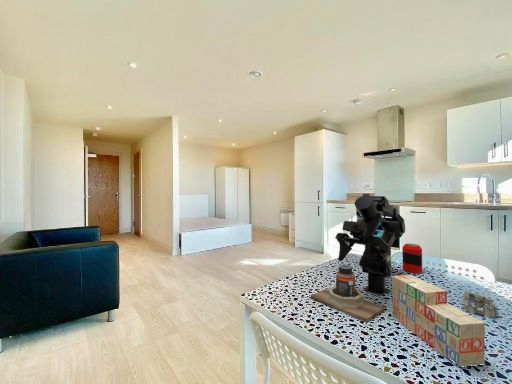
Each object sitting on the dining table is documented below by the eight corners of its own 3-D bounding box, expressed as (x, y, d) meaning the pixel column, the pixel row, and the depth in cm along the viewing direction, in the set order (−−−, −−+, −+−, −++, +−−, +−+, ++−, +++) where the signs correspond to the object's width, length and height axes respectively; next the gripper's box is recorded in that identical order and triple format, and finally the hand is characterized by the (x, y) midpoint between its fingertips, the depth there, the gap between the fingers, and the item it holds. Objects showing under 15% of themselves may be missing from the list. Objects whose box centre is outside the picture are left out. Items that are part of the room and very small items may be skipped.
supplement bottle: (357, 306, 76) (357, 270, 76) (337, 304, 77) (337, 269, 77) (353, 297, 82) (353, 264, 81) (335, 296, 83) (334, 263, 83)
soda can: (399, 268, 115) (399, 243, 115) (416, 268, 114) (416, 243, 114) (407, 273, 108) (407, 246, 108) (425, 274, 107) (425, 247, 106)
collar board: (329, 290, 90) (329, 279, 90) (384, 310, 75) (384, 297, 75) (310, 298, 84) (310, 286, 84) (366, 322, 68) (366, 308, 68)
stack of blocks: (486, 366, 51) (485, 308, 51) (459, 369, 50) (458, 310, 50) (411, 315, 72) (410, 274, 72) (391, 316, 72) (391, 274, 71)
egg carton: (495, 321, 68) (495, 307, 68) (460, 312, 74) (460, 298, 74) (496, 308, 76) (495, 295, 76) (464, 300, 81) (464, 288, 81)
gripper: (335, 211, 92) (316, 245, 88) (377, 211, 75) (355, 253, 71) (353, 228, 95) (335, 262, 91) (397, 232, 78) (378, 274, 73)
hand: (349, 263), depth 81 cm, fingers open, 9 cm apart
